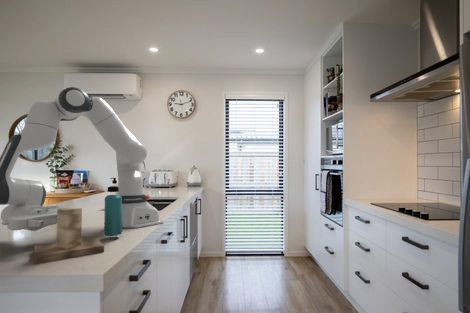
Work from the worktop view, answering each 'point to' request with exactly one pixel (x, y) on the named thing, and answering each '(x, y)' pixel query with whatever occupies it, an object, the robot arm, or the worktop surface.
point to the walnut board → (67, 250)
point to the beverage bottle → (113, 213)
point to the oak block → (69, 227)
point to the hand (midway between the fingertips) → (56, 221)
